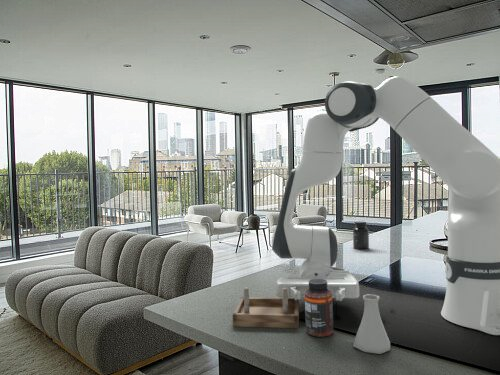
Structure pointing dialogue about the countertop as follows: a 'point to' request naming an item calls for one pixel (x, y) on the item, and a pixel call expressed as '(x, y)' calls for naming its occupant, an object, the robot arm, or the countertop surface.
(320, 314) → the supplement bottle
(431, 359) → the countertop surface
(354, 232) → the supplement bottle
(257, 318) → the tray
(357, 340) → the flask
